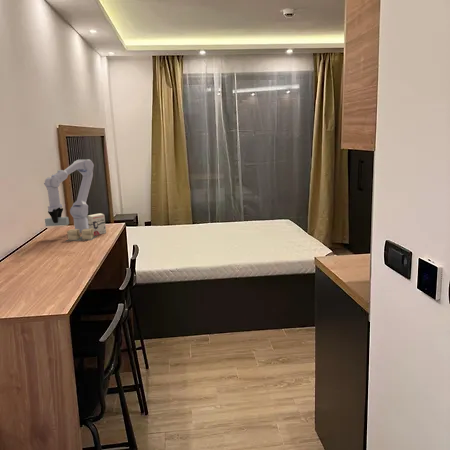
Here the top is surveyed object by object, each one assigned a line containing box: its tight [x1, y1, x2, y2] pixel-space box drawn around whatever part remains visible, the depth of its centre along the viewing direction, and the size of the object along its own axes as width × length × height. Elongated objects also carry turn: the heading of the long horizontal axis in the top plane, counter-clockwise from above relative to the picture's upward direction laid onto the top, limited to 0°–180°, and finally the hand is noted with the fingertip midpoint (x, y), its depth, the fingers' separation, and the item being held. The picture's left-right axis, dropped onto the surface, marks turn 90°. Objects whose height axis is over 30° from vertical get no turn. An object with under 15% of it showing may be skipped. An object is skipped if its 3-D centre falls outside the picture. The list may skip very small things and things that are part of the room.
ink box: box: [87, 212, 107, 236], centre depth 253 cm, size 8×5×12 cm, turn 134°
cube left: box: [66, 228, 81, 240], centre depth 243 cm, size 5×5×5 cm
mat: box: [65, 235, 98, 242], centre depth 244 cm, size 11×15×1 cm
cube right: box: [81, 228, 95, 240], centre depth 242 cm, size 5×5×5 cm
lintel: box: [44, 216, 70, 227], centre depth 248 cm, size 12×4×4 cm, turn 89°
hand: (57, 222), depth 248 cm, fingers closed on lintel, 4 cm apart
